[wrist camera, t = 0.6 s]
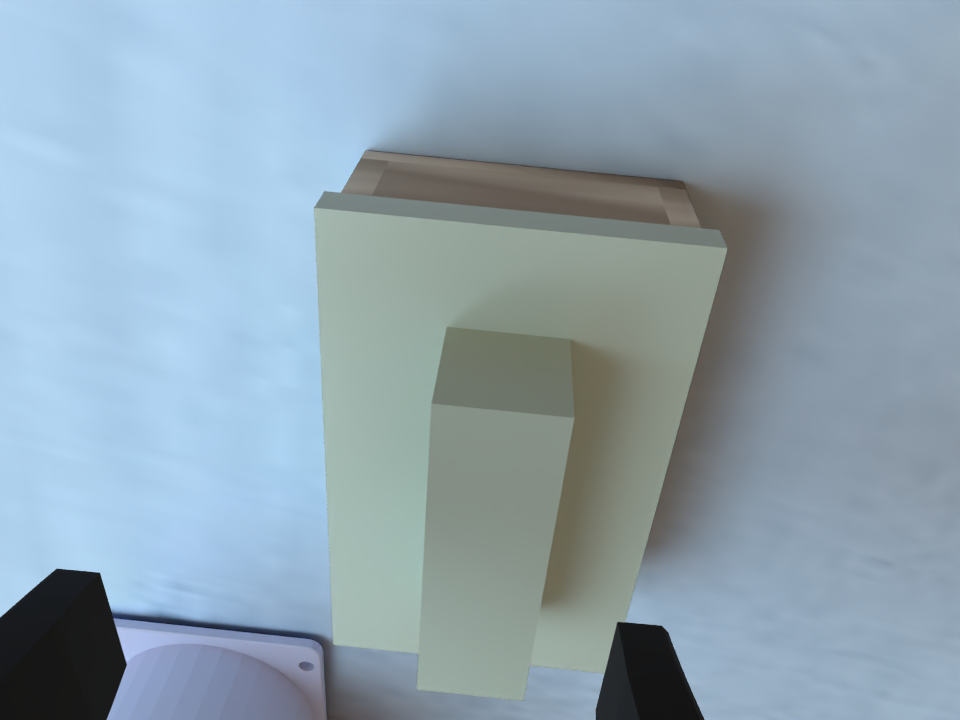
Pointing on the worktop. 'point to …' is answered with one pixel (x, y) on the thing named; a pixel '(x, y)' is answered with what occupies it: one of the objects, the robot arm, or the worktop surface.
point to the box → (522, 188)
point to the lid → (498, 425)
